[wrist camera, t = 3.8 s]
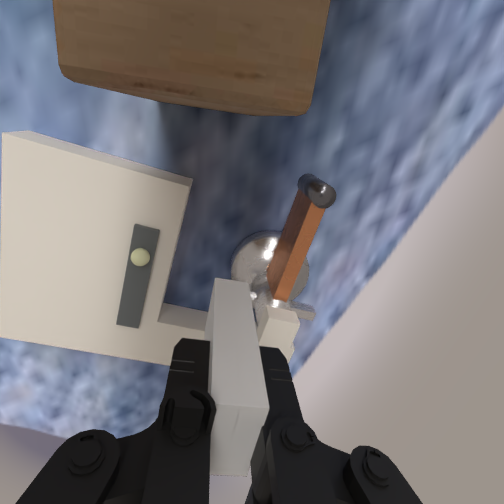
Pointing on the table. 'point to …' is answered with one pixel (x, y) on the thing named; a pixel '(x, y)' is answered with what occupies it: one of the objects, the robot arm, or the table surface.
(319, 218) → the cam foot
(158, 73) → the wooden block
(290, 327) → the stand
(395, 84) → the table surface
